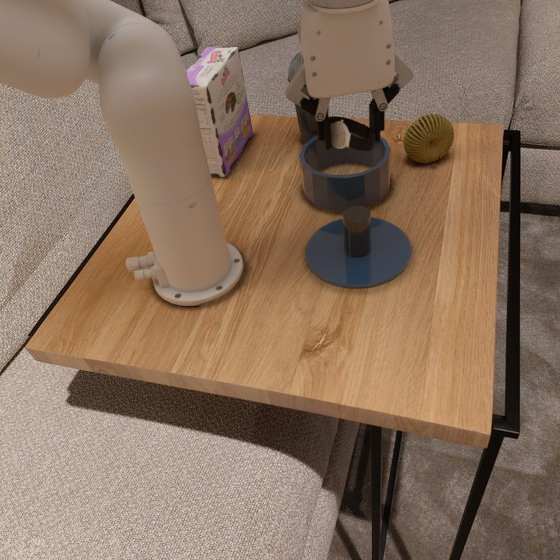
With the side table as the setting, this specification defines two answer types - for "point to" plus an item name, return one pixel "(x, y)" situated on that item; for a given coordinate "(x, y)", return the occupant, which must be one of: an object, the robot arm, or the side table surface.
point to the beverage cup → (304, 118)
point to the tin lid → (358, 250)
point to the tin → (344, 188)
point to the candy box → (221, 106)
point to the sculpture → (428, 138)
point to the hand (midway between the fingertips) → (350, 138)
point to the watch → (344, 138)
